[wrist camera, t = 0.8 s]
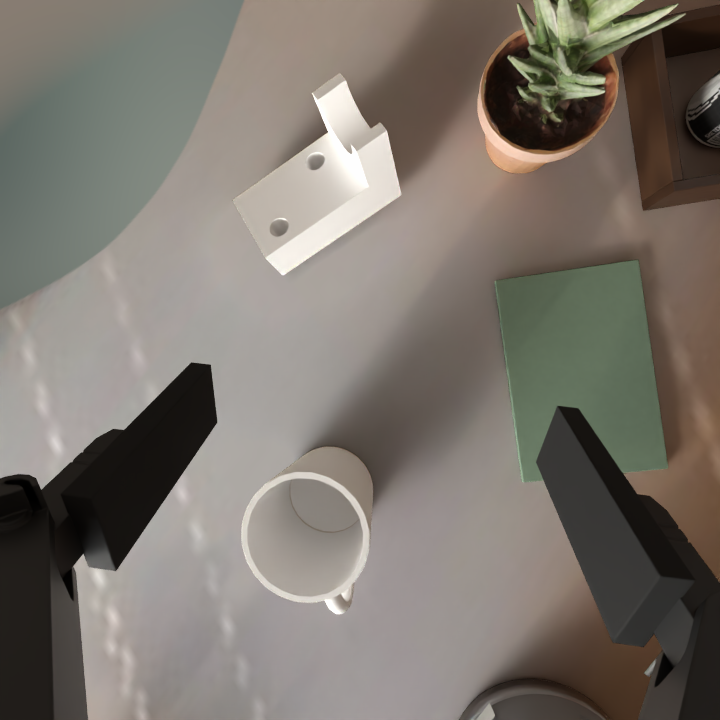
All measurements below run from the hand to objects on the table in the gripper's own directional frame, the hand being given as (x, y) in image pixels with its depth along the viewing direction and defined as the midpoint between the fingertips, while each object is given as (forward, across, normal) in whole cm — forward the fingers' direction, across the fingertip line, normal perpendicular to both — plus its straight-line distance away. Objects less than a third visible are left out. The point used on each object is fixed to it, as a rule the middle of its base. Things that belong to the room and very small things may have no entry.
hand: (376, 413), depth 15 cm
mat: (+20, -17, +7) cm, 27 cm away
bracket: (+27, +8, -4) cm, 28 cm away
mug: (+14, +3, +20) cm, 25 cm away
